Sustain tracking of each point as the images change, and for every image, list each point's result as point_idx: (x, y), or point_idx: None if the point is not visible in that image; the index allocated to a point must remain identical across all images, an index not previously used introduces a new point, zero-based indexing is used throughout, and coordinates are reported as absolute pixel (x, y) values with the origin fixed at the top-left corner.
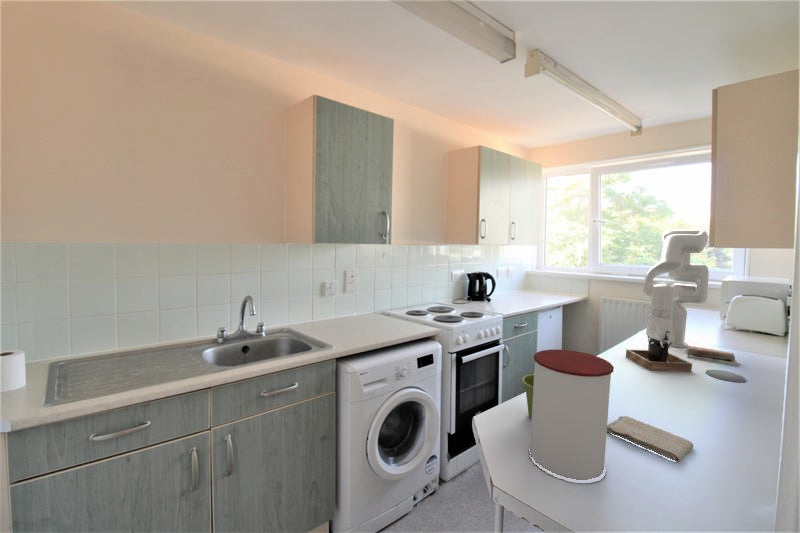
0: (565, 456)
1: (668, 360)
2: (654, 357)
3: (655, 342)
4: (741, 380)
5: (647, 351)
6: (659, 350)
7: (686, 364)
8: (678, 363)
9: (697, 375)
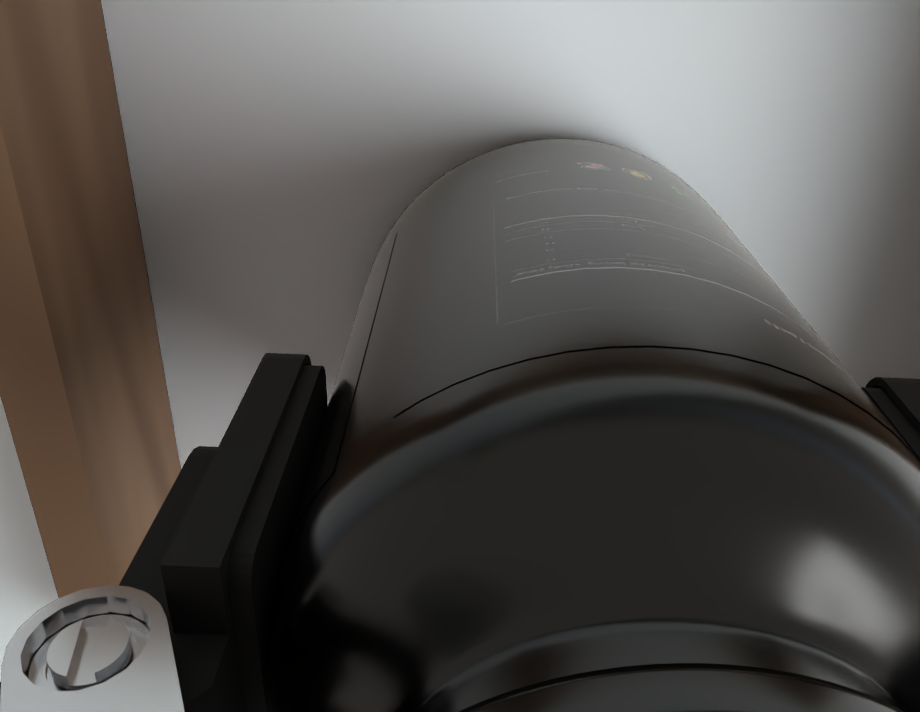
0: None
1: None
2: (426, 246)
3: (525, 670)
4: None
5: None
6: (311, 474)
7: None
8: (44, 542)
9: (10, 603)
